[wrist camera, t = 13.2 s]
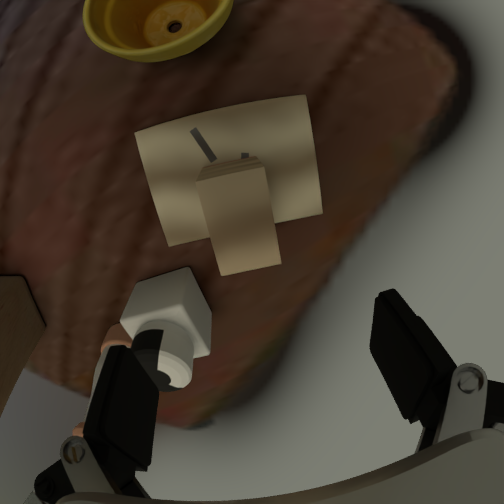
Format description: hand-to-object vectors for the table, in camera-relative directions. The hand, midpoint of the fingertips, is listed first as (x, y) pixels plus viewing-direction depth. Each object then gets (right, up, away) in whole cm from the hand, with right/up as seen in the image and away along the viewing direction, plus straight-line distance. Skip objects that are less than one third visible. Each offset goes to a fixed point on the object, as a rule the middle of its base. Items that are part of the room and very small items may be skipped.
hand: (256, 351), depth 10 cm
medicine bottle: (-9, -2, +22) cm, 24 cm away
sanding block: (-1, +8, +17) cm, 19 cm away
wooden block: (-37, -4, +21) cm, 42 cm away
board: (-2, +12, +16) cm, 20 cm away
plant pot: (-7, +25, +9) cm, 27 cm away
